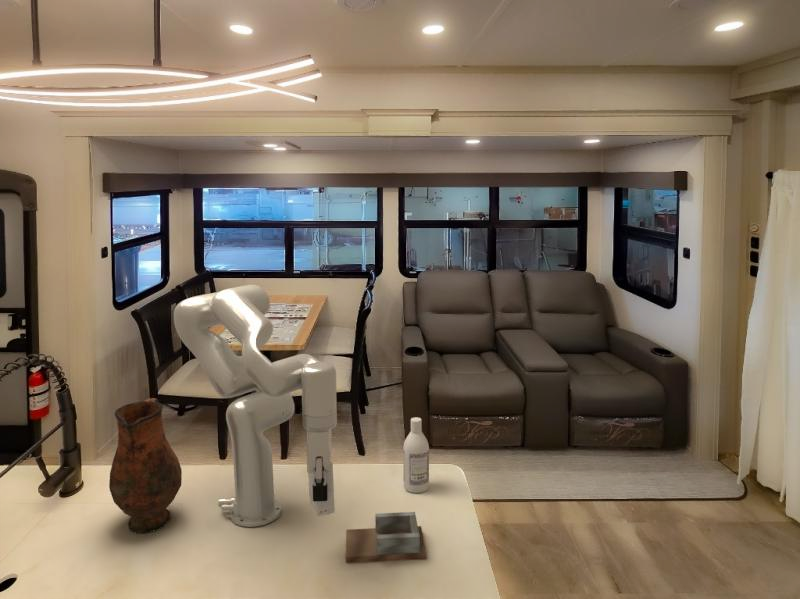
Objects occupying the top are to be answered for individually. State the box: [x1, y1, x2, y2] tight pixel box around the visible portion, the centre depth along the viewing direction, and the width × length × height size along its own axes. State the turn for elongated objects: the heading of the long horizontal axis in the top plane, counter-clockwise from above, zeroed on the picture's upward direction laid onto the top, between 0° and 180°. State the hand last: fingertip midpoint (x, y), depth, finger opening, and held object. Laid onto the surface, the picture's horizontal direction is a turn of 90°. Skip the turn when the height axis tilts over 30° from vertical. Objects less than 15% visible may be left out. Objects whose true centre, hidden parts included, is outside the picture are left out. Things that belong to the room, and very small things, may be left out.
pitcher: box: [108, 397, 183, 534], centre depth 159 cm, size 17×21×30 cm
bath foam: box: [402, 416, 430, 494], centre depth 174 cm, size 7×7×20 cm
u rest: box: [345, 511, 427, 564], centre depth 148 cm, size 18×11×6 cm, turn 94°
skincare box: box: [307, 457, 336, 517], centre depth 145 cm, size 6×4×12 cm
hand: (321, 491), depth 145 cm, fingers closed on skincare box, 7 cm apart
